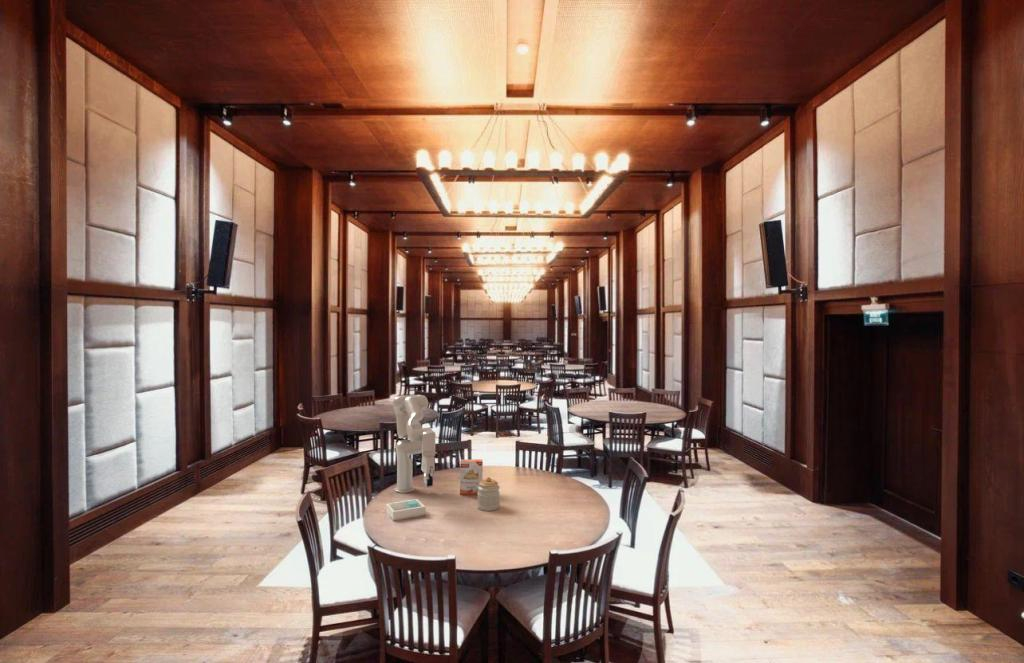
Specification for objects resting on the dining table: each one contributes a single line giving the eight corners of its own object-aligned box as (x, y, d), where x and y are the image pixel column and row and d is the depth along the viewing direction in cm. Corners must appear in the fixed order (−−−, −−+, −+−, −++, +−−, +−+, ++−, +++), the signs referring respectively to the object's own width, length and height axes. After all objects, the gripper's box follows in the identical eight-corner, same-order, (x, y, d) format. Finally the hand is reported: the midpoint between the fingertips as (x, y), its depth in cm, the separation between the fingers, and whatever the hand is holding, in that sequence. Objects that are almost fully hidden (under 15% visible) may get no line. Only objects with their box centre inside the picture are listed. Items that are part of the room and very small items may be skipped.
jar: (473, 509, 306) (473, 478, 305) (483, 502, 318) (484, 472, 317) (493, 512, 300) (493, 481, 300) (503, 505, 312) (503, 475, 312)
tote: (386, 512, 299) (386, 503, 299) (417, 507, 307) (417, 498, 307) (393, 521, 286) (393, 511, 286) (425, 515, 295) (425, 506, 295)
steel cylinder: (422, 485, 306) (422, 472, 306) (430, 483, 309) (431, 471, 308) (425, 487, 302) (425, 475, 302) (433, 486, 304) (433, 474, 304)
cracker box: (459, 495, 330) (460, 461, 329) (459, 492, 336) (460, 459, 335) (482, 494, 331) (482, 461, 330) (482, 491, 337) (482, 458, 336)
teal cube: (406, 510, 300) (406, 501, 300) (415, 508, 302) (415, 500, 302) (409, 513, 295) (409, 504, 295) (418, 511, 298) (418, 502, 298)
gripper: (417, 450, 310) (417, 480, 311) (427, 457, 295) (426, 489, 296) (429, 448, 314) (429, 479, 314) (440, 455, 299) (439, 487, 299)
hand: (428, 483), depth 305 cm, fingers closed on steel cylinder, 4 cm apart
